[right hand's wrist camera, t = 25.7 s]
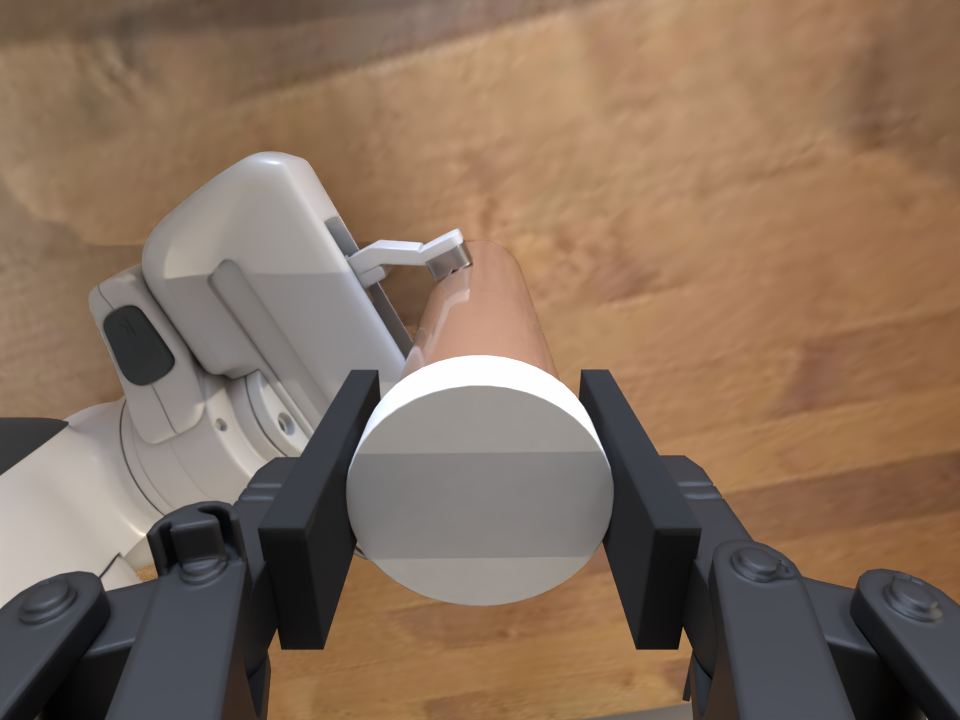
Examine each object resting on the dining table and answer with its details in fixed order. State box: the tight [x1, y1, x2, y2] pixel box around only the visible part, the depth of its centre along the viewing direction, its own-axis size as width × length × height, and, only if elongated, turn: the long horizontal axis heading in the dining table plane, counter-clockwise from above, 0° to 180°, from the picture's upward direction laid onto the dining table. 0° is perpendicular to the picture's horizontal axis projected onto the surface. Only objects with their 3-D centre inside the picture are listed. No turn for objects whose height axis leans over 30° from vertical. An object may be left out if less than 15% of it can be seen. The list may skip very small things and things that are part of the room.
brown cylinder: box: [399, 240, 561, 382], centre depth 21 cm, size 5×5×19 cm
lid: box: [346, 356, 614, 606], centre depth 12 cm, size 6×6×2 cm
